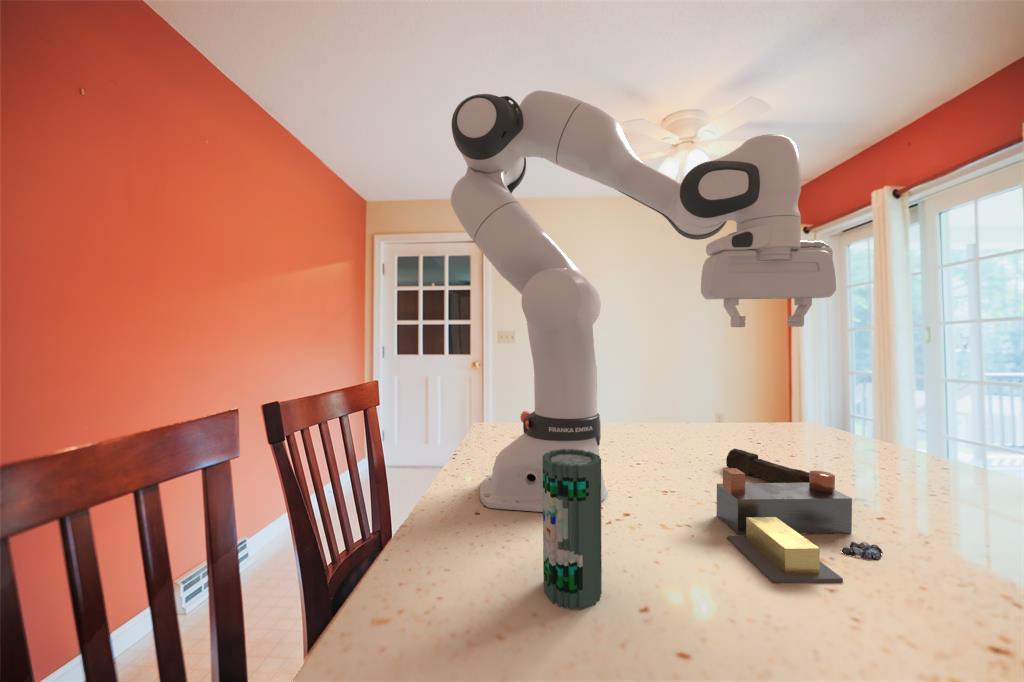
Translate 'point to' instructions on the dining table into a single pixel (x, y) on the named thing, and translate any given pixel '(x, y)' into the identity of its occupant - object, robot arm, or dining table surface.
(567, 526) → the can
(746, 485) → the plane body
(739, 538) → the mat
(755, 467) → the hand tool
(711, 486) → the dining table surface
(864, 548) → the blueberries
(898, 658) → the dining table surface
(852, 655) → the dining table surface
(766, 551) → the gold metallic block
